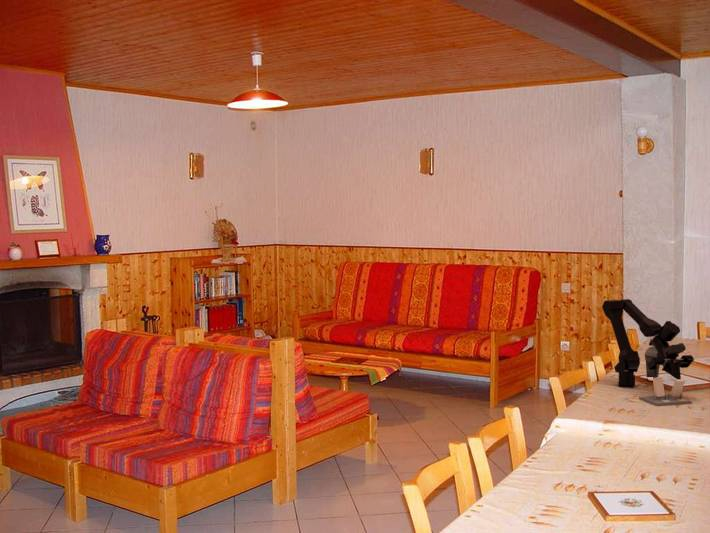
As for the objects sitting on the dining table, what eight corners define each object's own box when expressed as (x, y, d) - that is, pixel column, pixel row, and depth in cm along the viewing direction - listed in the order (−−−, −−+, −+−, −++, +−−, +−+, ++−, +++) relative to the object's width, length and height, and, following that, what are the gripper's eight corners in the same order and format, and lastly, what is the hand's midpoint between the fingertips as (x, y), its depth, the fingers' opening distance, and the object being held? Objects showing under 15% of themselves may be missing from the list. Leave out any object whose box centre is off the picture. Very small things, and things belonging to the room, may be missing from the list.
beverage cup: (658, 379, 378) (659, 336, 377) (662, 382, 371) (663, 338, 369) (642, 379, 379) (643, 335, 377) (646, 382, 372) (647, 338, 370)
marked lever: (669, 396, 337) (675, 379, 333) (677, 395, 338) (683, 378, 334) (671, 398, 336) (677, 381, 332) (679, 397, 337) (685, 380, 333)
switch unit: (639, 399, 340) (639, 392, 339) (673, 396, 343) (673, 389, 343) (656, 406, 328) (656, 398, 328) (691, 403, 332) (691, 396, 332)
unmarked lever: (654, 398, 335) (652, 377, 337) (663, 397, 336) (660, 377, 337) (656, 398, 334) (654, 377, 335) (665, 397, 335) (662, 377, 336)
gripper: (651, 337, 336) (668, 369, 326) (691, 335, 340) (709, 366, 330) (640, 353, 344) (656, 385, 334) (679, 351, 348) (695, 382, 338)
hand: (679, 379), depth 334 cm, fingers closed, pressing on marked lever
